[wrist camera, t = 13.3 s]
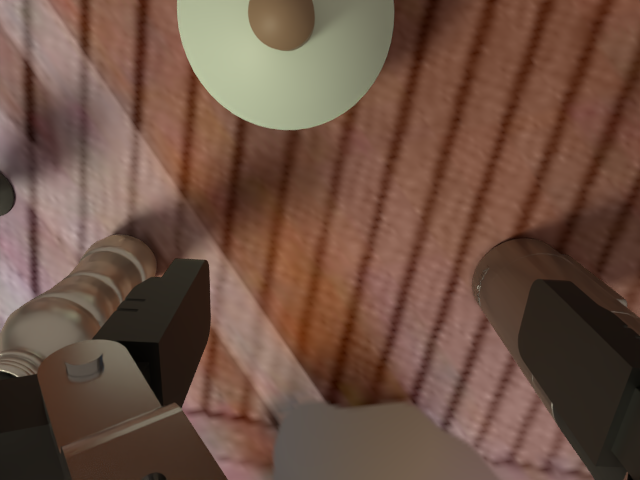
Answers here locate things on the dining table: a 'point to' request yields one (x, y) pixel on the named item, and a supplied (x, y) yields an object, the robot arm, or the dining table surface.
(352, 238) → the dining table surface
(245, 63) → the lid
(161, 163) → the dining table surface
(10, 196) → the sundae
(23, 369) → the plastic bottle
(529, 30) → the dining table surface
